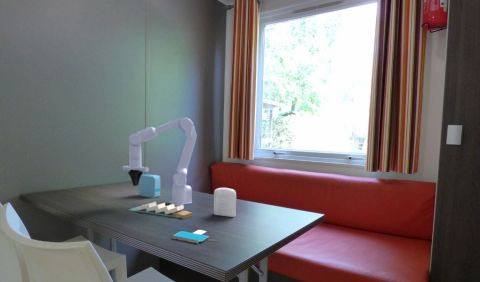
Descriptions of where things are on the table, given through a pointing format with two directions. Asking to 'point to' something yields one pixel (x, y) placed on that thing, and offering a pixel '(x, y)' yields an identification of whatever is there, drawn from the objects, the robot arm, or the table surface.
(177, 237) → the phone stand
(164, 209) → the cream domino
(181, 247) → the table surface
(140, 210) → the teal mat
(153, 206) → the cream domino
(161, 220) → the table surface
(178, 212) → the ochre domino
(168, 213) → the cream domino
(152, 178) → the data package
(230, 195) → the photo printer
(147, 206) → the cream domino
